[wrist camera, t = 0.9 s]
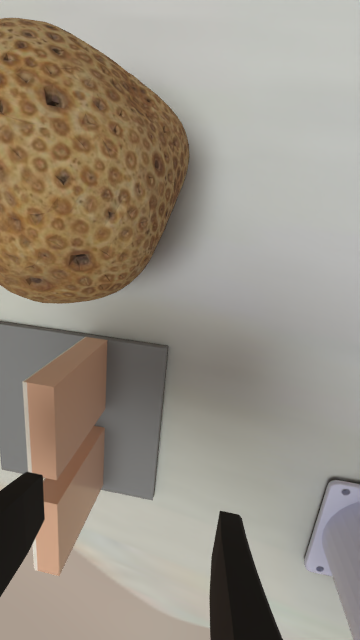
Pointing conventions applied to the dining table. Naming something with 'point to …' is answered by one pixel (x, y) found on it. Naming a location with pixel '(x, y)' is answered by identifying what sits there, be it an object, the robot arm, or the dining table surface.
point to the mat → (120, 409)
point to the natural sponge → (79, 167)
